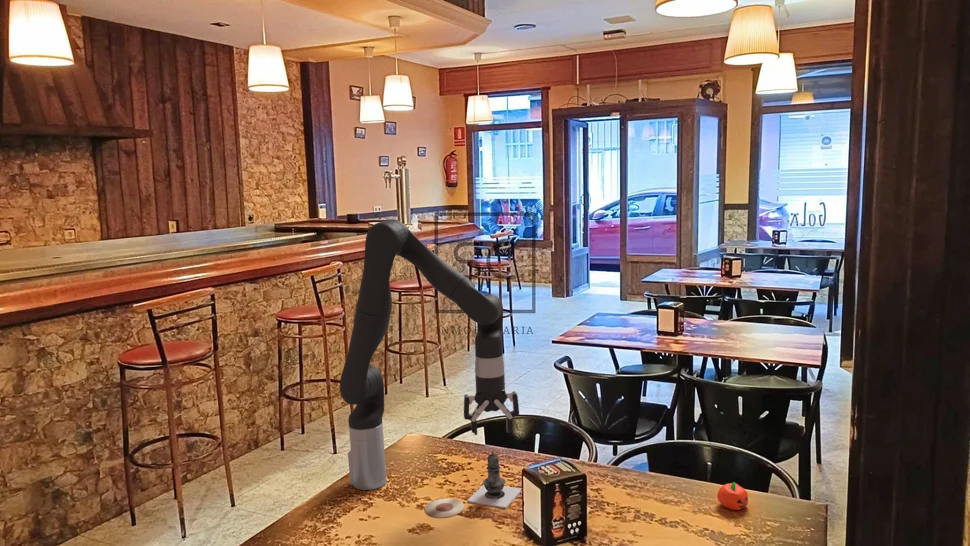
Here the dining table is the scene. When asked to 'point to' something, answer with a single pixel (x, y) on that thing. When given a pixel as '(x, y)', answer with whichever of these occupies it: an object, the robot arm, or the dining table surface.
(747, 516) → the dining table surface
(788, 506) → the dining table surface
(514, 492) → the mat
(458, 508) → the coaster
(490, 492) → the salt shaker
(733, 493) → the halloween pumpkin figurine
